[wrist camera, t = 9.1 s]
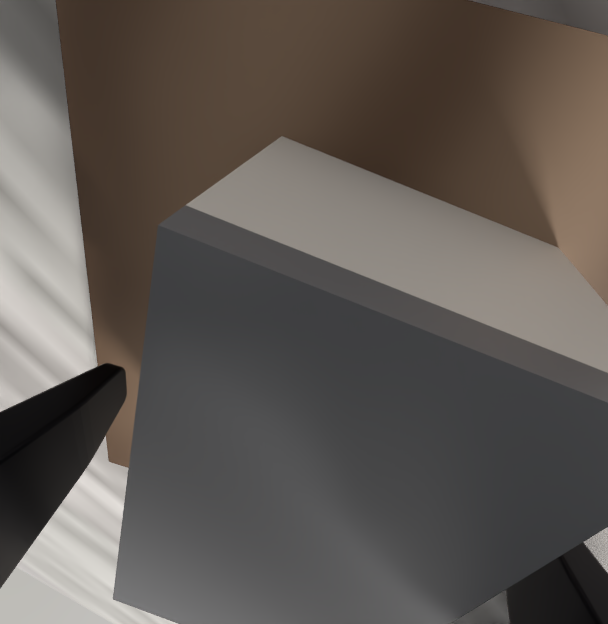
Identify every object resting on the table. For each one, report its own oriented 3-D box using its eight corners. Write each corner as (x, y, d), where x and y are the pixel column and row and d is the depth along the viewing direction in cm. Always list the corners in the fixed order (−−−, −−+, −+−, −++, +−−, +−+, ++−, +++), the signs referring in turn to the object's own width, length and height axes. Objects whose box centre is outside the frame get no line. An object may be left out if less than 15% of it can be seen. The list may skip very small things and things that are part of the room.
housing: (362, 496, 14) (348, 686, 10) (198, 433, 14) (113, 599, 9) (558, 248, 8) (730, 450, 4) (282, 136, 8) (157, 224, 4)
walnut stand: (778, 97, 8) (909, 111, 6) (449, 508, 17) (457, 570, 15) (127, -69, 9) (43, -108, 7) (142, 414, 18) (108, 461, 16)
